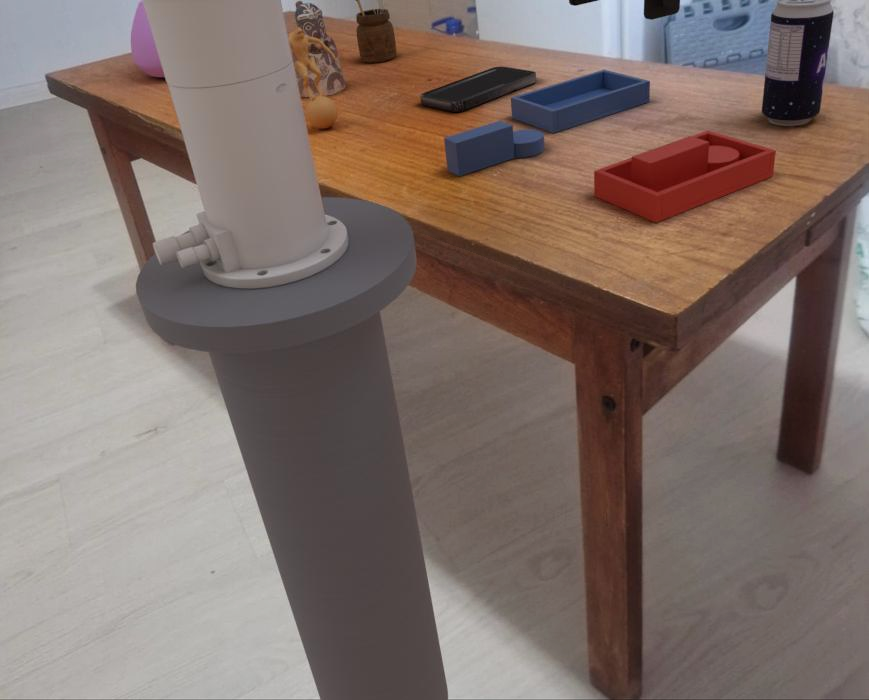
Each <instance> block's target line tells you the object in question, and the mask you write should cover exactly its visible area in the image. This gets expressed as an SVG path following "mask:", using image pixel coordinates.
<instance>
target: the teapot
mask: <svg viewBox="0 0 869 700" xmlns="http://www.w3.org/2000/svg"><path fill="white" fill-rule="evenodd" d="M130 50H131V56H132V60H133V62H134V64H135V65H136V67H138V68H139V69H140V70H142V72H144V73H146V74H147V75H148V76H150V77H154V78H165V75H164V72H163V69H162V65H161V62H160V58H159V55H158V52H157V48H156V45H155V41H154V38H153V34H152V31H151V28H150V24H149V21H148V18H147V14H146V11H145V8H144V4H143V1H142V0H140V1H139V2H138V4H137V6H136V9H135V13H134V18H133V21H132V25H131V31H130Z"/></svg>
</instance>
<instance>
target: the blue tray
mask: <svg viewBox="0 0 869 700" xmlns="http://www.w3.org/2000/svg"><path fill="white" fill-rule="evenodd" d="M650 92H651V81H650V80H648V79H644V78H640V77H636V76H632V75H628V74H623V73H620V72H616V71H613V70H612V71H611V70H609V69H602V70H598V71H594V72H591V73H588V74H585V75H581V76H579V77H574V78H571V79H568V80H564V81H562V82H558V83H555V84H551V85H548V86H544V87H541V88H538V89H535V90H532V91H528V92H525V93H520V94H517V95H515V96H511V97H510V108H511V109H510V111H511V119H513V120H516V121H518V122H521V123H524V124H527V125H530V126H532V127H535V128H538V129H541V130H543V131H546V132H548V133H552V134H555V133H559V132H562V131H565V130H567V129H571V128H574V127H577V126H580V125H583V124H586V123H589V122H592V121H596V120H598V119H602V118H604V117H607V116H611V115H614V114H617V113H620V112H623V111H626V110H630V109H632V108H635V107H638V106H641V105H644V104H649V103H650V101H651V100H650V97H651V96H650V94H651V93H650Z"/></svg>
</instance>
